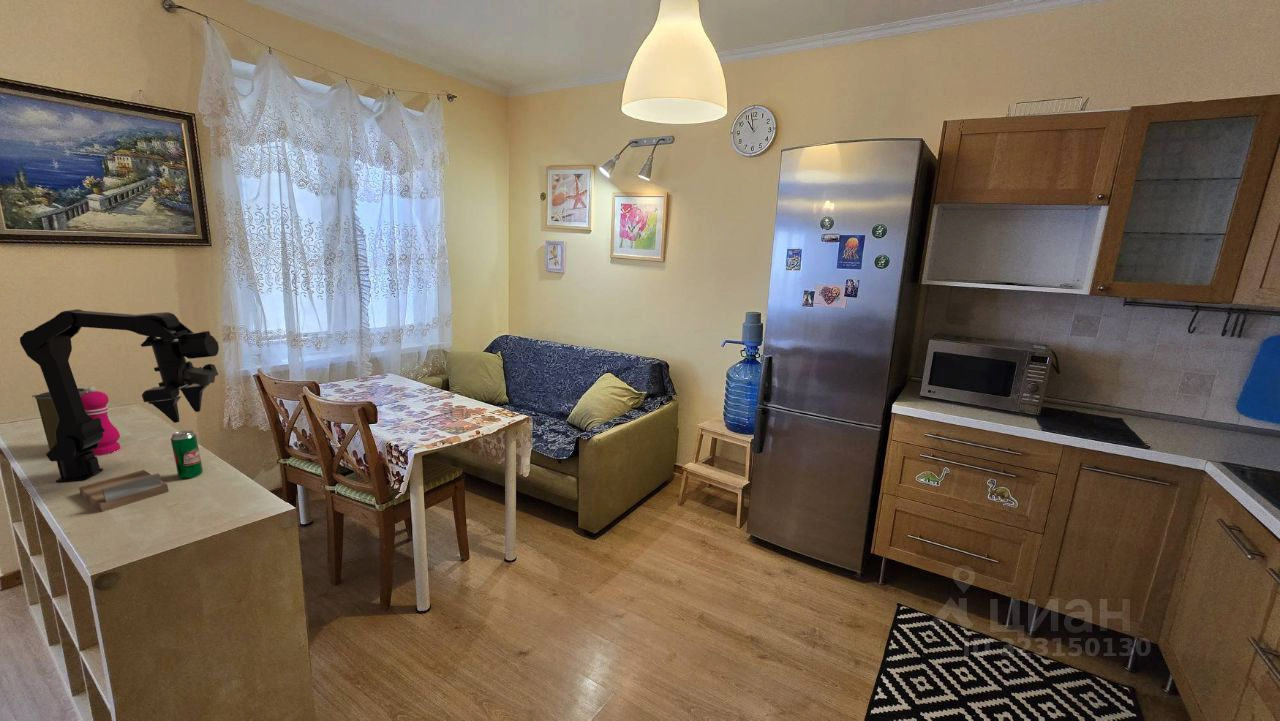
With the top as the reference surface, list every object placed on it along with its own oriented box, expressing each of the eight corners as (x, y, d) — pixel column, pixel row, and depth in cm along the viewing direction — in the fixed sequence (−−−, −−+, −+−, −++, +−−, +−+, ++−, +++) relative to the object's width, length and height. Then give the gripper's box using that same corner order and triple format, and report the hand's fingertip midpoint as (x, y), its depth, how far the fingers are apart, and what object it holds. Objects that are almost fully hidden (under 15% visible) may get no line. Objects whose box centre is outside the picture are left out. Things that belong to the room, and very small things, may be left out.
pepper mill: (83, 454, 153) (67, 388, 148) (114, 445, 159) (100, 382, 155) (96, 457, 150) (80, 391, 146) (128, 449, 156) (113, 384, 152)
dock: (80, 494, 128) (76, 475, 127) (144, 476, 138) (140, 459, 137) (102, 511, 120) (97, 491, 119) (168, 491, 130) (164, 472, 129)
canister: (97, 439, 164) (82, 378, 160) (101, 447, 158) (86, 383, 153) (45, 449, 156) (29, 385, 151) (48, 458, 149) (30, 391, 145)
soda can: (188, 480, 136) (180, 437, 133) (173, 478, 137) (164, 435, 134) (208, 472, 141) (200, 430, 138) (193, 470, 142) (184, 429, 139)
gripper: (184, 364, 129) (201, 423, 133) (225, 350, 147) (239, 402, 151) (132, 370, 127) (150, 430, 131) (180, 355, 145) (195, 408, 149)
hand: (187, 416), depth 140 cm, fingers open, 9 cm apart
